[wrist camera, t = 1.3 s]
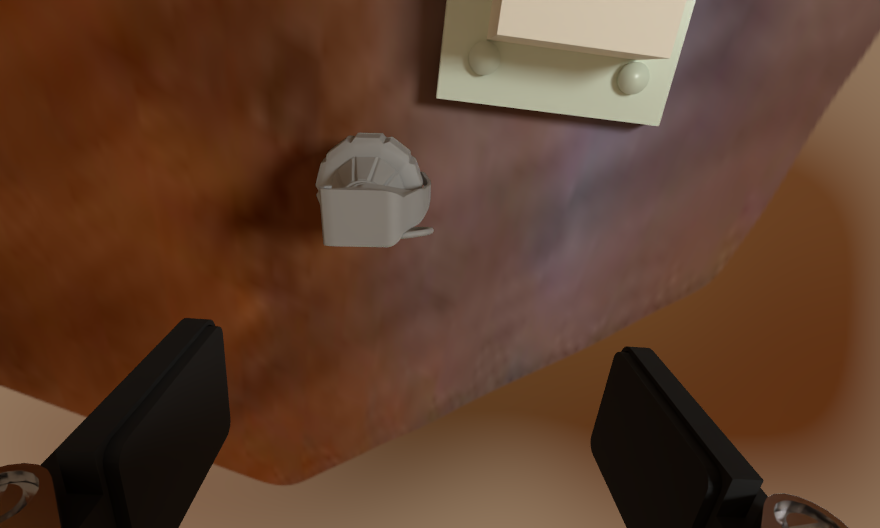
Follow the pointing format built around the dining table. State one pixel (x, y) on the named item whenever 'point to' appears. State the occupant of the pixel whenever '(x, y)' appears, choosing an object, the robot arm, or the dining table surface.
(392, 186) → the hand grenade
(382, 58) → the dining table surface
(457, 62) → the base plate
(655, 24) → the cream brick
